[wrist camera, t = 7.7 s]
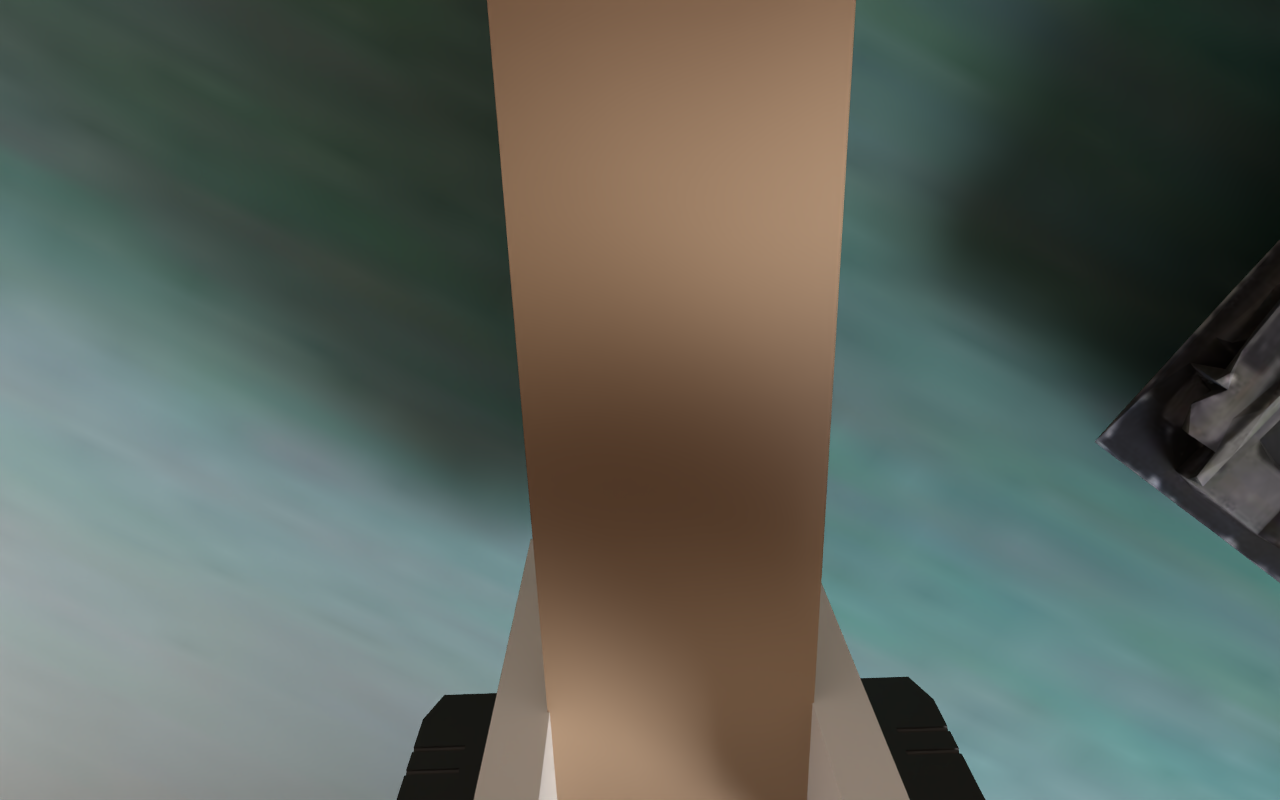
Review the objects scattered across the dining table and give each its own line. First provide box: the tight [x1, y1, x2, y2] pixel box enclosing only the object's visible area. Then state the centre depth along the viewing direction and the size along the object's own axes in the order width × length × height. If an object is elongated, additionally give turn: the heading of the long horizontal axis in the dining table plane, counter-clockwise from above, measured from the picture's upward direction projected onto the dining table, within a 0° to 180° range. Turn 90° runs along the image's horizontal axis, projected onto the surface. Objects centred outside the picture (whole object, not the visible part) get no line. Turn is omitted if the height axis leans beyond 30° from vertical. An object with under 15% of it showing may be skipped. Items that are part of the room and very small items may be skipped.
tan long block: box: [487, 0, 856, 800], centre depth 12 cm, size 15×6×5 cm, turn 2°
